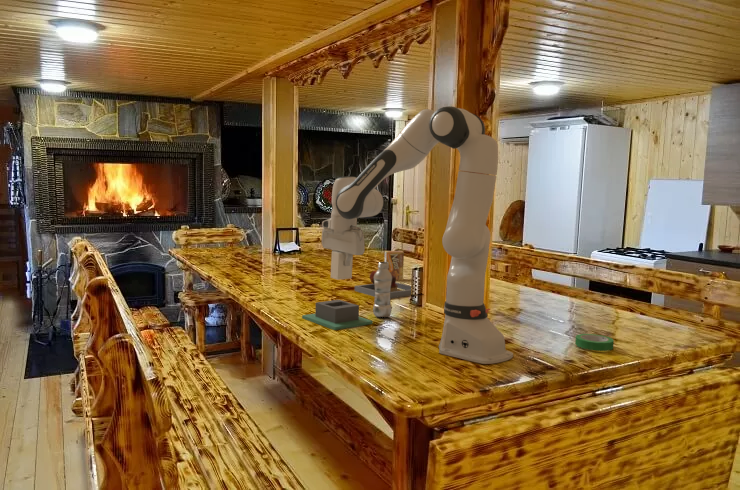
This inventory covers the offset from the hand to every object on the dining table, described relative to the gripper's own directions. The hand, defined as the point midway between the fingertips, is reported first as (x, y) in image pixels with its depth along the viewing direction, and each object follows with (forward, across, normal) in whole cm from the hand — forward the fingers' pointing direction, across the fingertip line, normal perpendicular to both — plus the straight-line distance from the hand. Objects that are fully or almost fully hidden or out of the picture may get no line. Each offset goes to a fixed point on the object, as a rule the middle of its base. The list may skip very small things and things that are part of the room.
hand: (341, 264), depth 199 cm
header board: (+20, +2, -1) cm, 21 cm away
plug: (+5, 0, 0) cm, 5 cm away
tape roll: (+19, -67, -49) cm, 85 cm away
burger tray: (+20, +30, -49) cm, 61 cm away
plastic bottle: (+20, -2, -18) cm, 27 cm away
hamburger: (+21, +34, -50) cm, 63 cm away
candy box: (+21, +52, -71) cm, 91 cm away
